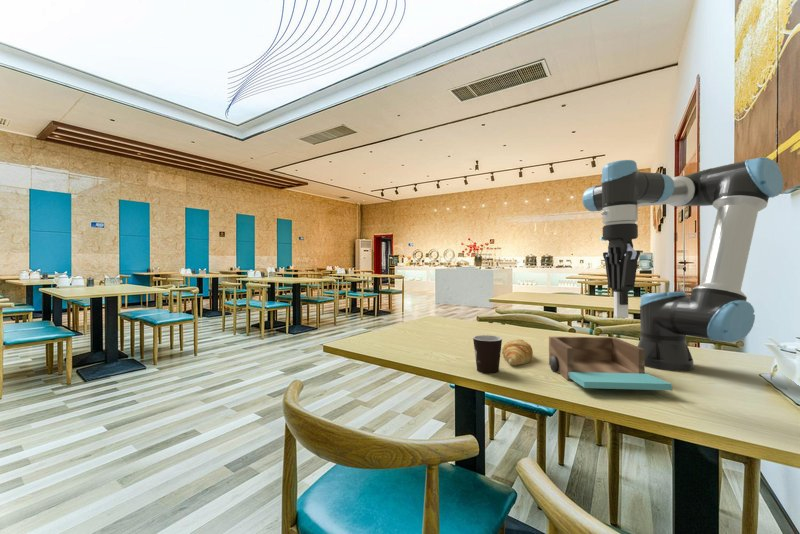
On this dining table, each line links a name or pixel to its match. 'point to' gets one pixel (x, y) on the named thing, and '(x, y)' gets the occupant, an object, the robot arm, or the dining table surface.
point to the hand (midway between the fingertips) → (621, 317)
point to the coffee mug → (487, 353)
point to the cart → (594, 355)
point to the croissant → (517, 352)
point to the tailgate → (619, 381)
